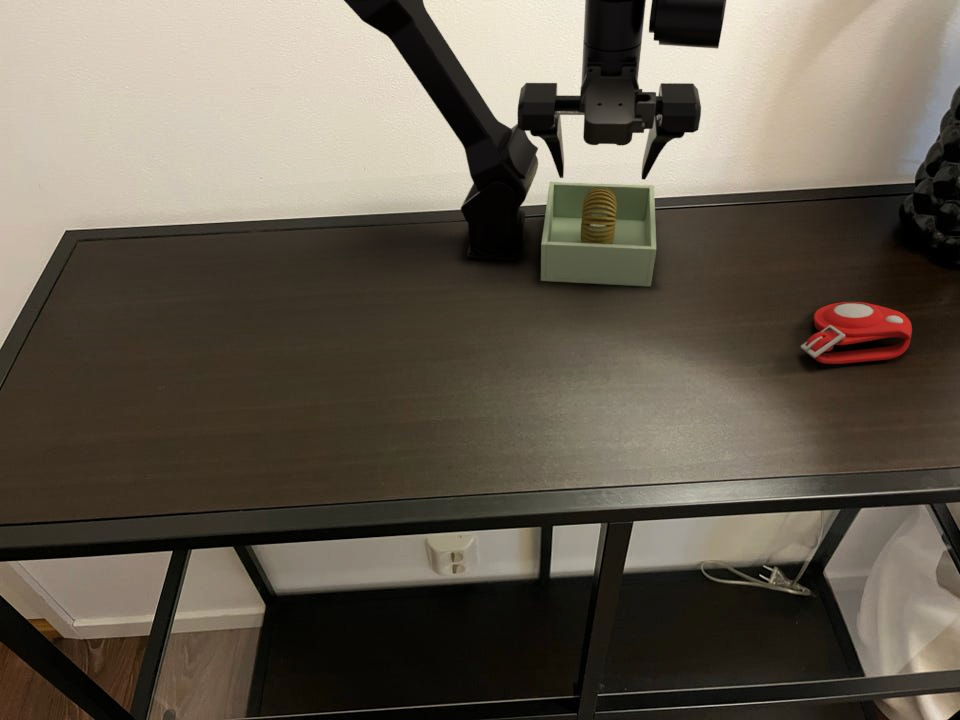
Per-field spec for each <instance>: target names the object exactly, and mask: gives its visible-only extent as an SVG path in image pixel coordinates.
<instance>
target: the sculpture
mask: <svg viewBox="0 0 960 720" xmlns="http://www.w3.org/2000/svg"><path fill="white" fill-rule="evenodd" d="M594 204H604V205H594ZM605 205H607V206H605ZM592 209H604V210H608V211H603V210H602V211H601V210H592ZM616 209H617V200H616V197H615V195H614V193H613V192H612V191H611V190H609V189H607V188H605V187H602V188H601V187H599V188H598V187H597V188H594V189H592V190H591V191H589V192H588V193H587V195H586V196H585V199H584V202H583V210H582V222H581V241H582V243H591V244H612V242H613V239H614V232H615V221H616ZM588 210H589V211H588ZM609 211H610V212H609ZM591 214H605V215H607V216H605V217H604V216H592V215H591ZM591 224H595V225H606V227H597V226H591ZM588 229H591V230H588ZM592 230H598V231H592ZM606 230H607V231H606ZM599 231H602V232H599ZM603 231H604V232H603ZM594 235H595V236H594Z"/></svg>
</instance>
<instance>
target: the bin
mask: <svg viewBox="0 0 960 720" xmlns="http://www.w3.org/2000/svg"><path fill="white" fill-rule="evenodd" d="M548 184H549V186H548V191H547V199H546V205H545V213H544V221H543V229H542V234H541V235H542V236H541V244H540V282H557V283H572V284H573V283H574V284H575V283H576V284H592V285H593V284H595V285H596V284H597V285H610V286H611V285H612V286H613V285H614V286H632V287H633V286H634V287H649V288H650V287H651V286H652V282H653V274H654V268H655V263H656V261H655V260H656V256H657V255H656V254H657V232H656V231H657V230H656V205H655V204H656V203H655V202H656V201H655V185H647V184H621V183H619V184H618V183H617V184H616V183H593V182H590V183H589V182H560V181H549V183H548ZM597 187H598V188H599V187H601V188H602V187H605V188H607V189H609V190H611V191H612V192H613V193H614V195H615V197H616V200H617V209H616V221H615V232H614V239H613V242H612V244H591V243H582V241H581V222H582V210H583V202H584V199H585V196H586V195H587V193H588V192H589V191H591V190H592V189H594V188H597ZM594 205H604V204H594ZM605 206H607V205H605ZM592 210H601V211H602V210H603V211H608V210H604V209H592ZM588 211H589V210H588ZM609 212H610V211H609ZM591 215H592V216H604V217H605V216H607V215H605V214H591ZM591 226H597V227H606V225H595V224H591ZM588 230H591V229H588ZM592 231H598V230H592ZM606 231H607V230H606ZM599 232H602V231H599ZM603 232H604V231H603ZM594 236H595V235H594Z"/></svg>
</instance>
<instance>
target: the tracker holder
mask: <svg viewBox="0 0 960 720" xmlns="http://www.w3.org/2000/svg"><path fill="white" fill-rule="evenodd" d="M813 325H814V326H815V328H816V330H818V332H816V333H814V334H812V335H811V336H810V337H809V338H807V341H805V342H804V343H802V344H801V345H800V348H801V350H803V351H804V352H805V353H807V355H809V356H810V357H811V358H812V359H814V360H815V361H817V362H818V363H820V364H826V365H841V364H842V365H843V364H844V365H845V364H854V363H864V362H876V361H888V360H892V359H895V358H898V357H900V356H902V355H903V354H904V353H906V351H907V350H908V348H909V346H910V344H911V340H912V333H913V326H912V322H911V320H910V319H909V317H908V316H907V315H905V314H904V313H902V312H900V311H898V310H895V309H892V308H889V307H884V306H881V305H878V304H873V303H869V302H863V301H843V302H835V303H831V304H827V305H824V306H822V307H820V308H819V309H817V310H816V311H815V313H814V315H813ZM887 338H902V340H900V342H898V343H897V344H894V345H890V346H889V345H888V346H882V347H872V348H862V349H855V350H845V351H833V349H834V345H835V346H847V345H854V344H860V343H865V342H870V341H876V340H882V339H887ZM830 351H833V352H830Z"/></svg>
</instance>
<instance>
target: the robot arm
mask: <svg viewBox="0 0 960 720" xmlns="http://www.w3.org/2000/svg"><path fill="white" fill-rule="evenodd" d="M343 1H344V2H345V3H346V5H347V6H348V7H349V8H350V9H351V10H352V11H353V12H354V13H355V15H357V17H358V18H359V19H360V20H361V21H362V22H363V23H365V24H366V25H368V26H370V27H371V28H373V29H375V30H376V31H378V32H380V33H381V34H383V35H385V36H386V37H387V38H388V39H389V40H390V41H391V43H392V44H393V45H394V48H395V49H396V50H397V51H398V53H399V55H401V57H402V59H403V60H404V61H405V63H406V65H407V66H408V67H409V69H410V70H411V72H412V73H413V74H414V77H416V79H417V80H418V82H419V83H420V85H421V86H422V88H423V89H424V91H425V92H426V93H427V95H428V97H429V98H430V100H431V101H432V102H433V104H434V106H435V107H436V108H437V110H438V111H439V113H440V114H441V115H442V118H443V119H444V120H445V122H446V123H447V124H448V126H449V127H450V129H451V130H452V131H453V133H454V134H455V136H456V138H457V139H458V140H459V142H460V143H461V144H462V147H463V149H464V153H465V157H466V161H467V167H468V170H469V175H470V178H471V180H472V183H473V184H472V185H471V187H470V189H469V190H468V192H467V195H466V197H465V198H464V201H463V203H462V205H461V207H460V211H461V213H462V215H463V218H464V220H465V222H466V223H467V226H468V229H467V230H468V241H469V244H468V250H467V253H466V254H467V259H468V260H481V261H482V260H483V261H504V262H517V261H518V260H519V257H520V251H521V250H522V249H523V248H524V246H525V240H526V211H525V210H524V209H521V207H522V205H523V203H524V202H525V201H526V198H527V196H528V194H529V191H530V189H531V187H532V184H533V182H534V180H535V178H536V175H537V171H538V169H539V159H538V156H537V153H538V150H539V147H537V146H536V145H535V144H534V143H533V142H532V141H531V139H530V138H529V137H528V135H527V132H529V133H530V135H531V136H532V137H539V138H541V140H543V141H544V143H545V144H546V146H547V148H548V150H549V152H550V155H551V158H552V160H553V163H554V166H555V168H556V171H557V174H558V177H559V178H560V179H564V174H565V173H564V172H565V155H564V154H565V153H564V144H563V143H564V142H563V141H564V140H563V131H562V119H561V116H583V136H582V138H583V141H584V142H585V143H586V144H587V145H590V146H599V145H616V146H627V145H629V144H630V143H631V142H632V140H633V134H644V133H645V130H648V134H647V139H646V144H645V148H644V152H643V158H642V163H641V180H646V179H647V177H648V176H649V174H650V172H651V170H652V168H653V166H654V165H655V163H656V161H657V159H658V157H659V155H660V154H661V152H662V151H663V149H664V148H665V146H667V144H668V143H669V142H671V141H672V140H674V139H682V138H683V137H684V136H685V133H686V134H687V133H690V134H691V133H692V134H694V133H695V132H697V131H699V129H700V122H701V116H702V104H701V99H700V94H699V89H698V88H697V86H696V85H695V83H692V82H690V83H684V82H683V83H681V82H680V83H679V82H677V83H674V82H673V83H672V82H671V83H667V82H666V83H664V82H661V83H660V85H659V87H658V95H657V92H656V91H643V88H640V85H639V81H638V80H639V70H640V63H641V62H640V61H641V52H642V41H643V31H644V21H645V12H646V2H647V0H584V19H583V21H584V22H583V41H582V42H583V44H582V61H581V62H582V64H581V65H582V66H581V82H580V83H581V84H580V95H558V83H557V82H525V83H524V85H523V86H522V87H521V88H520V92H519V98H518V103H517V123H516V124H515V125H513V126H512V127H509V126H507V125H505V124H504V123H502V122H500V121H499V120H498V119H497V118H496V116H495V115H494V113H493V112H492V110H491V109H490V107H489V106H488V103H487V102H486V101H485V99H484V98H483V96H482V95H481V94H480V93H481V92H479V90H478V89H477V87H476V85H475V84H474V82H473V81H472V79H471V78H470V76H469V74H468V73H467V72H466V70H465V69H464V67H463V65H462V64H461V62H460V60H459V58H458V57H457V56H456V54H455V53H454V51H453V49H452V48H451V47H450V45H449V44H448V42H447V40H446V39H445V37H444V36H443V34H442V32H441V31H440V30H439V27H438V26H437V25H436V23H435V21H434V20H433V18H432V17H431V15H430V14H429V13H428V10H427V9H426V6H425V4H424V0H343ZM726 5H727V0H651V6H650V14H649V22H648V23H649V24H648V33H649V34H653V41H654V42H658V45H659V46H673V47H688V48H702V49H703V48H704V49H719V46H720V41H721V36H722V30H723V25H724V19H725V12H726V7H727V6H726Z"/></svg>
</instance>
